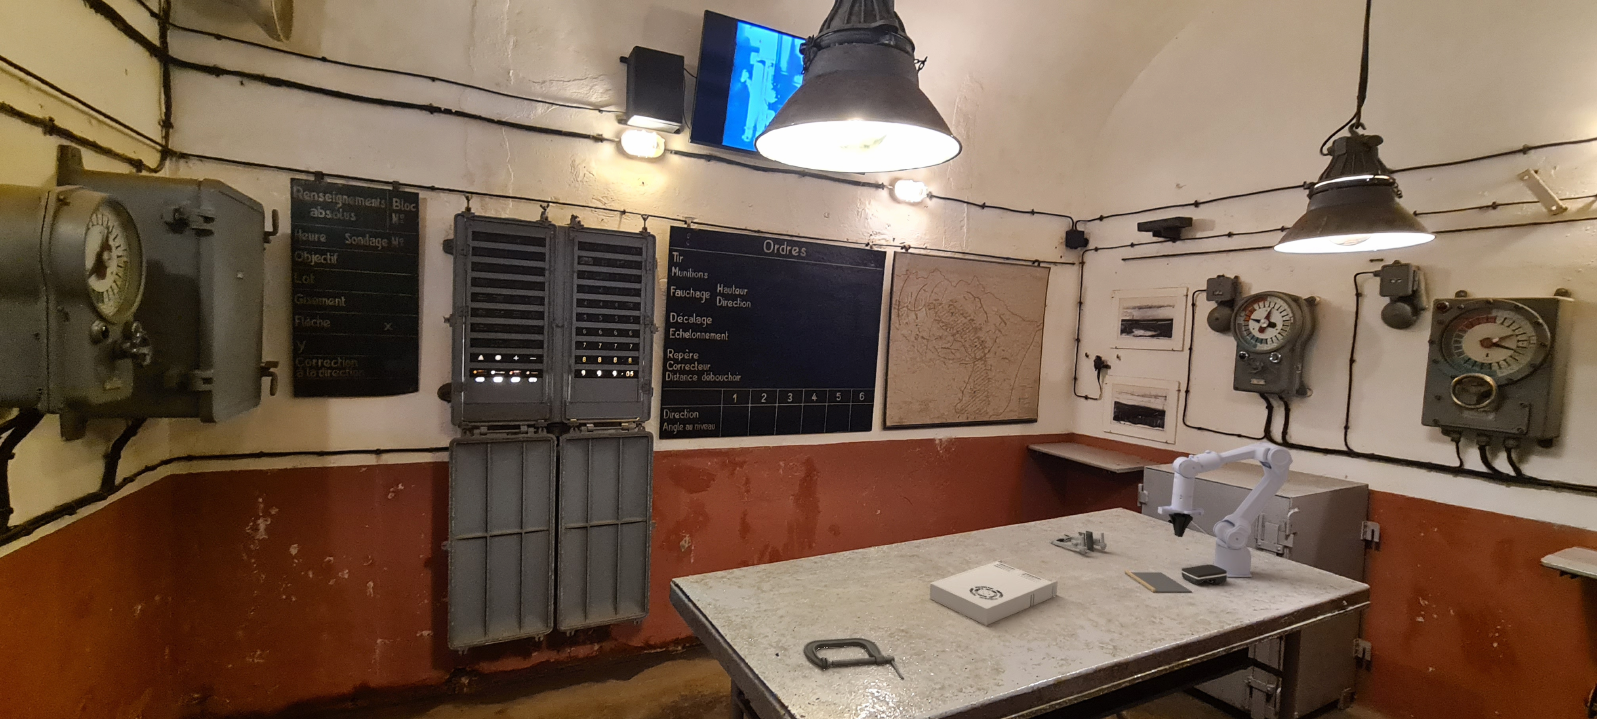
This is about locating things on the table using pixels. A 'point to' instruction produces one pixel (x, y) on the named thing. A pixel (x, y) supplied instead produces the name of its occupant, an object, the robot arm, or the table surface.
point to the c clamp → (825, 663)
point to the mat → (1157, 582)
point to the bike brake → (1082, 542)
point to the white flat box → (991, 592)
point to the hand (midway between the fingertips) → (1178, 535)
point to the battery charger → (1204, 574)
